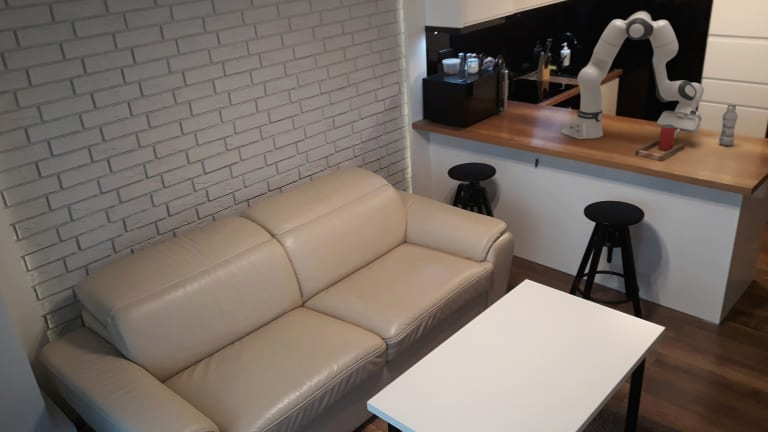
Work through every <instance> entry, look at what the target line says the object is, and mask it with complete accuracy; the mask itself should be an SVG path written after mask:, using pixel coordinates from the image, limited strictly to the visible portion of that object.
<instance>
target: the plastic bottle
mask: <svg viewBox="0 0 768 432" xmlns="http://www.w3.org/2000/svg"><path fill="white" fill-rule="evenodd" d="M736 110H737V105H735V104H729V105H727V108H726V111H724V113H723V115H722V128H721V131H720V135H719V137H718V143H719V144H720V145H721V146H732V145H733V144H734V142H735V127H736V125H737V120H738V113H737V112H736Z"/></svg>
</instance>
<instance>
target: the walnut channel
mask: <svg viewBox="0 0 768 432" xmlns="http://www.w3.org/2000/svg"><path fill="white" fill-rule="evenodd" d="M659 140H660V138H656V139H654V140H653V141H651V142H649V143H647V144H645V145H643V146H641V147H640V148H638V149H636V150H635V156H637V157H642V158H646V159H650V160H655V161H659V162H664V161H666V160H667V159H669V158H670V157H672V156H674V155H676V154H678V153H679V152H681V151H683V150H684V149H685V145H686V144H685V143H680V144H677V145H676V146H675V147H673V149H671V150H667V151H666V152H664V153H663V154H659V153H656V152H655V153H654V152H650V150H652V149H653V148H655V147H657V146H659Z"/></svg>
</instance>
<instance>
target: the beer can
mask: <svg viewBox="0 0 768 432" xmlns="http://www.w3.org/2000/svg"><path fill="white" fill-rule="evenodd" d="M675 132H676V130H675V128H674V125H670V124H665V125H663V126H662V127H660V133H659V134H660V135H659V139H660V140H659V145H658V149H659V150H661V151H666V152H667V151H669V150H671V149H673V148H674V143H675V138H674V135H675Z"/></svg>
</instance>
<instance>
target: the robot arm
mask: <svg viewBox="0 0 768 432" xmlns="http://www.w3.org/2000/svg"><path fill="white" fill-rule="evenodd" d="M610 21H611V20H610ZM626 38H629V39H631V40H633V41H641V40H648V39H649V41H650V43H651V47H652V50H653V56H652V58H651V64H652V71H653V77H654V80H655V81H654V82H655V95H656V97H657V99H658V100H659V101H660V102H663V103H666V102H670V101H677V102H678V104H676V105H677V106H676V107H675V110H674V111H673V110H664V111H663V112H662V113H661V115H660V117H659V118H658V120H657V122H656V124H657V126H658V128H662V126H663V125H665V124H670V125H674V128H675V135H674V139H676V137H677V136H678V135H680V134H681V133H682V132H684V133H689V134H694V135H695V134H697V133H698V132H699V129H700V128H701V121H702V119H703V118H702V115H701V114H700V112H698V111H697V107H698V105H700V103H701V100H702V99H703V95H704V92H705V91H704V89H705V88H704V86H703V85H702V84H701V83H698V82H690V81H689V80H686V79H685V80H684V79H683V80H675V81H674V80H673V81H670V80H669V79H668V74H667V73H668V72H667V68H666V64H667V62H668V61H669V62H670V61H671V59H673V58H674V57H676V55H677V54H678V50H679V42H678V39H677V37H676V33H675V31H674V29H673V27H672V25H671V24H670V22H669V21H668V20H666V19H659V20H656V21H654V20H653V17H652V15H651V14H650V12H648V11H646V10H638V11H635V12H634V13H633V14H631V15H630V16H628V17H626V19H625V20H623V19H620V18H618V19H617V18H616V19H613V20H612V21H611V22H609V24H608V25H607V26H606V27H605V28H604V31H603V33H602V34H601V36H600V37H599V40H598V41H597V44H596V45H595V47H594V48H593V53H592V56H591V58H590V60H589V62H588V63H587V65H586V66H584V67H583V68H582V69H581V70H580V71H579V73H578V76H577V80H576V81H577V83H578V85H579V91H580V106H579V107H580V108H579V109H577V110H576V111H575V114H576V115H575V116H574V117H572V118H571V119H569V120H568V121H567V122H566V125H565V128H563V129H562V130H561V134H564V135H566V136H569V137H572V138H575V139H578V140H586V139H597V138H601V137H603V135H604V133H603V126H602V119H603V109H602V108H603V93H602V89H601V83H602V81H603V80H604V79H605V78H606V77H607V75H608V72H610V68H611V67H612V65H613V61H614V59H615V58H616V56H617V54H618V52H619V50H620V49H621V47H622V45H623V44H624V42H625V40H626Z"/></svg>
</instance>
